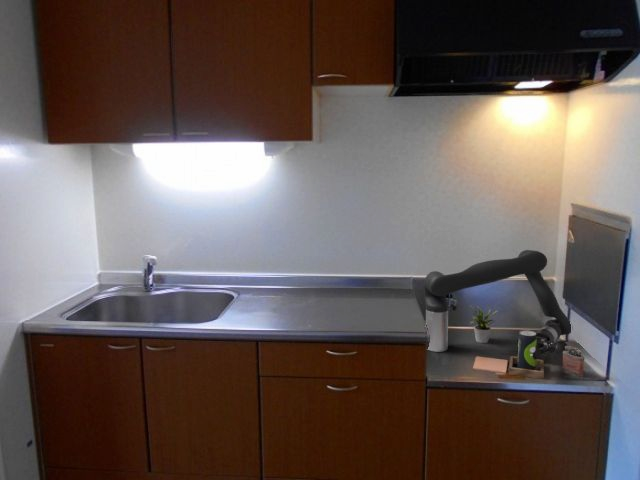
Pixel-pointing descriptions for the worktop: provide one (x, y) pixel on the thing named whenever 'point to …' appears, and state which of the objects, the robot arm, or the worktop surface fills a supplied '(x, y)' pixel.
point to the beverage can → (527, 350)
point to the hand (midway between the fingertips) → (529, 349)
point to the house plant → (482, 326)
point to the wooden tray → (525, 371)
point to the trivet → (490, 364)
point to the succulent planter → (573, 361)
